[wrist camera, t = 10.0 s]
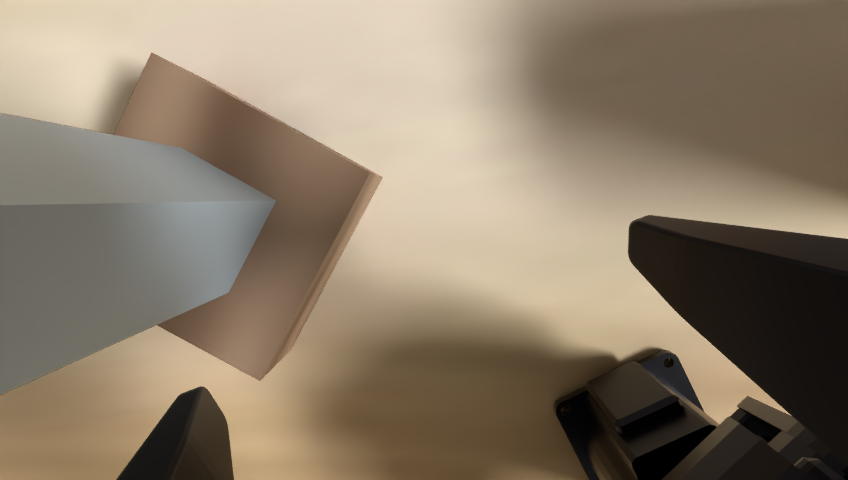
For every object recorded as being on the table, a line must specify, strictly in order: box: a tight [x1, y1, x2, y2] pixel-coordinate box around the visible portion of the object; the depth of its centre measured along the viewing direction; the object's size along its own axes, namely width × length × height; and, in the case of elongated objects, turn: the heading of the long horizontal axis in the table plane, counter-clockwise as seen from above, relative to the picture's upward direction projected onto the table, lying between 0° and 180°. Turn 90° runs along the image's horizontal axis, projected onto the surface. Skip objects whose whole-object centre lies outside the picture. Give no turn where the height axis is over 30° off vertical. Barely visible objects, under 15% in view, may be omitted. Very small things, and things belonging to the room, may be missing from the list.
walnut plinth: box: [113, 53, 382, 381], centre depth 21 cm, size 10×10×4 cm
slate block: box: [0, 113, 276, 395], centre depth 13 cm, size 4×4×12 cm
